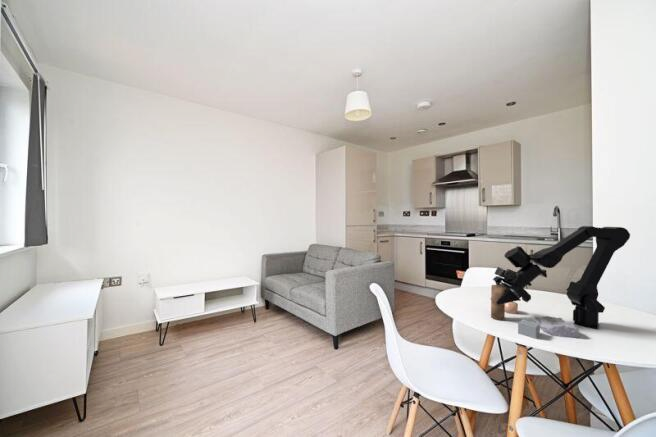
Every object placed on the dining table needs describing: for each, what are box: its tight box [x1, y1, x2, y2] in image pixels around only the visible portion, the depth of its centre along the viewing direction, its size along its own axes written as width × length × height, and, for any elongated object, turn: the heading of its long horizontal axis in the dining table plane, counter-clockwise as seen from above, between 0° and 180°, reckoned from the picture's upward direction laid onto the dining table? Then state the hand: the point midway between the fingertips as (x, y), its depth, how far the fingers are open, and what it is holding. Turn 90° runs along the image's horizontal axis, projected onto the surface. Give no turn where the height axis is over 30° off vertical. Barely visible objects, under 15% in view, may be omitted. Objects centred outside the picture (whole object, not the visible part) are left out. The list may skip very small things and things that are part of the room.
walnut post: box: [490, 284, 506, 322], centre depth 107 cm, size 5×5×13 cm
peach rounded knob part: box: [505, 301, 519, 315], centre depth 114 cm, size 5×5×4 cm
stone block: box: [534, 315, 580, 339], centre depth 96 cm, size 12×5×10 cm
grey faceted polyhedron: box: [517, 319, 541, 339], centre depth 92 cm, size 5×5×4 cm
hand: (494, 301), depth 107 cm, fingers closed on walnut post, 5 cm apart
